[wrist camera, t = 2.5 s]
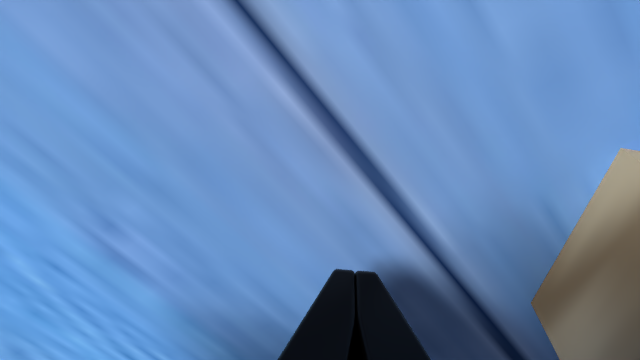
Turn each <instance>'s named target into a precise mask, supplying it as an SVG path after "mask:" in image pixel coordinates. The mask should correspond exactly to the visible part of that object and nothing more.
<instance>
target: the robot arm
mask: <svg viewBox="0 0 640 360" xmlns="http://www.w3.org/2000/svg"><path fill="white" fill-rule="evenodd" d="M278 360H431V359H430V358H429V356H428V355H427V353H426V351H425V350H424V348H423V347H422V345H421V343H420V342H419V340H418V339H417V337H416V335H415V334H414V332H413V331H412V329H411V327H410V326H409V324H408V323H407V321H406V320H405V318H404V316H403V315H402V313H401V312H400V310H399V308H398V307H397V305H396V304H395V302H394V300H393V299H392V297H391V296H390V294H389V292H388V291H387V289H386V288H385V286H384V285H383V283H382V281H381V280H380V278H379V277H378V275H377V274H376V273H375V272H369V271H357V272H356V273H354V271H352V270H342V269H336V270H334V271H333V272H332V274H331V276H330V277H329V279H328V280H327V282H326V284H325V285H324V287H323V288H322V290H321V291H320V293H319V295H318V296H317V298H316V299H315V301H314V303H313V304H312V306H311V307H310V309H309V311H308V312H307V314H306V315H305V317H304V319H303V320H302V322H301V323H300V325H299V327H298V328H297V330H296V331H295V333H294V335H293V336H292V338H291V339H290V341H289V343H288V344H287V346H286V347H285V349H284V350H283V352H282V354H281V355H280V357H279V358H278Z"/></svg>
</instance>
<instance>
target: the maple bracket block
mask: <svg viewBox="0 0 640 360" xmlns="http://www.w3.org/2000/svg"><path fill="white" fill-rule="evenodd" d="M531 304H532V306H533V308H534V310H535V312H536V314H537V316H538V318H539V320H540V322H541V324H542V326H543V328H544V330H545V332H546V334H547V336H548V338H549V340H550V342H551V344H552V346H553V348H554V350H555V351H556V353H557V355H558V357H559V359H560V360H640V151H636V150H630V149H623V148H620V150H619V152H618V154H617V155H616V157H615V159H614V160H613V162H612V164H611V166H610V167H609V169H608V171H607V173H606V174H605V176H604V178H603V179H602V181H601V183H600V185H599V186H598V188H597V190H596V191H595V193H594V195H593V197H592V198H591V200H590V202H589V204H588V205H587V207H586V209H585V210H584V212H583V214H582V216H581V217H580V219H579V221H578V222H577V224H576V226H575V228H574V229H573V231H572V233H571V235H570V236H569V238H568V240H567V241H566V243H565V245H564V247H563V248H562V250H561V252H560V253H559V255H558V257H557V259H556V260H555V262H554V264H553V266H552V267H551V269H550V271H549V272H548V274H547V276H546V278H545V279H544V281H543V283H542V284H541V286H540V288H539V290H538V291H537V293H536V295H535V296H534V298H533V300H532V302H531Z"/></svg>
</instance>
